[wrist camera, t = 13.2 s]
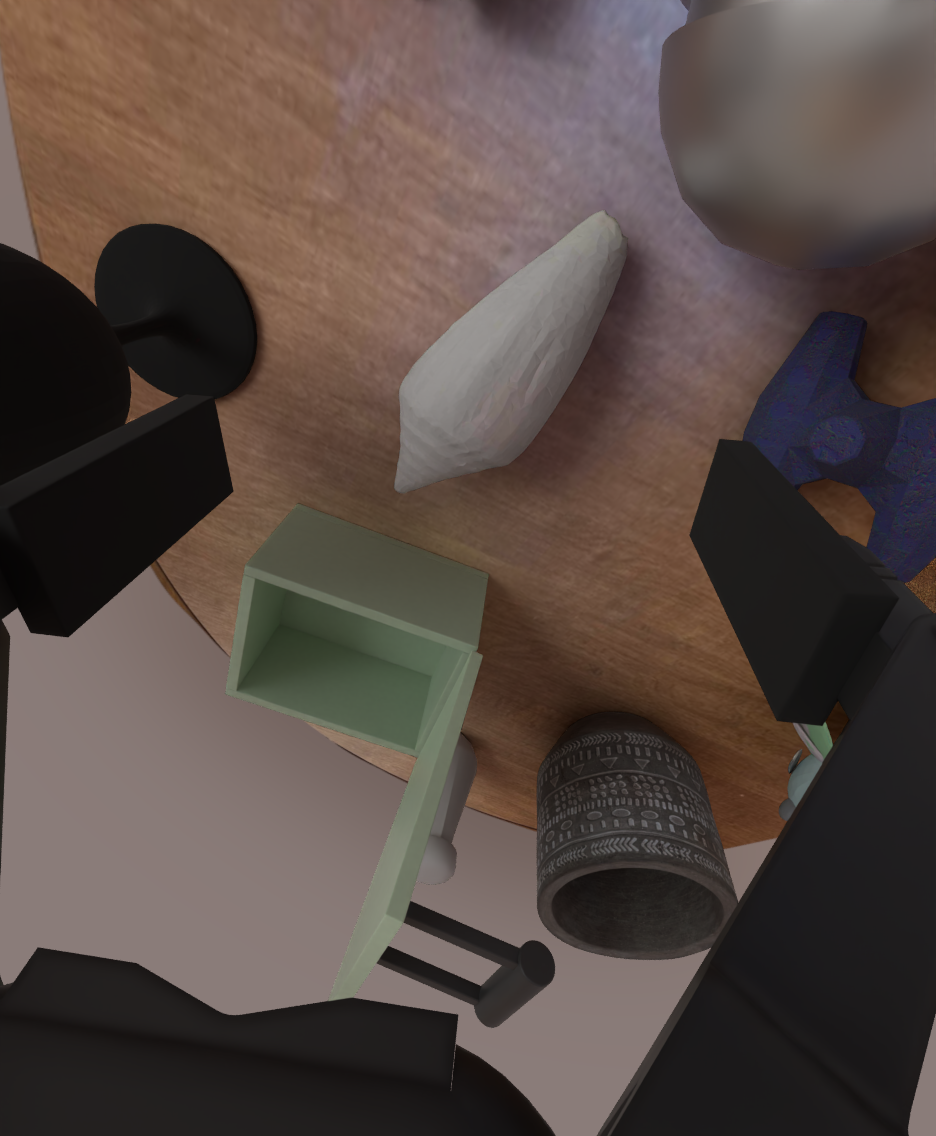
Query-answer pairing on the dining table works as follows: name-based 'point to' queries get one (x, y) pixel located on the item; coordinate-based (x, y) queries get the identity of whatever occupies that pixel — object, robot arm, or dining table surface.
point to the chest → (353, 629)
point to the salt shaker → (448, 817)
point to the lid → (392, 908)
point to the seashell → (507, 360)
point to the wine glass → (113, 339)
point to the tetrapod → (853, 440)
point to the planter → (628, 843)
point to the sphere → (805, 126)
